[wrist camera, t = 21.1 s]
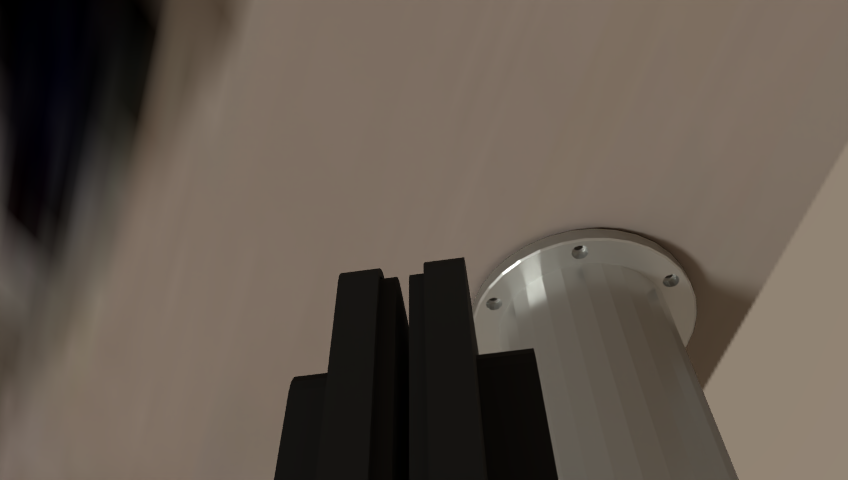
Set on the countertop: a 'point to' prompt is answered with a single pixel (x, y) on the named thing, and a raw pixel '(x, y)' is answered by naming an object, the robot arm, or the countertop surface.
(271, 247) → the countertop surface
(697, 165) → the countertop surface
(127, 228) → the countertop surface
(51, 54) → the countertop surface
